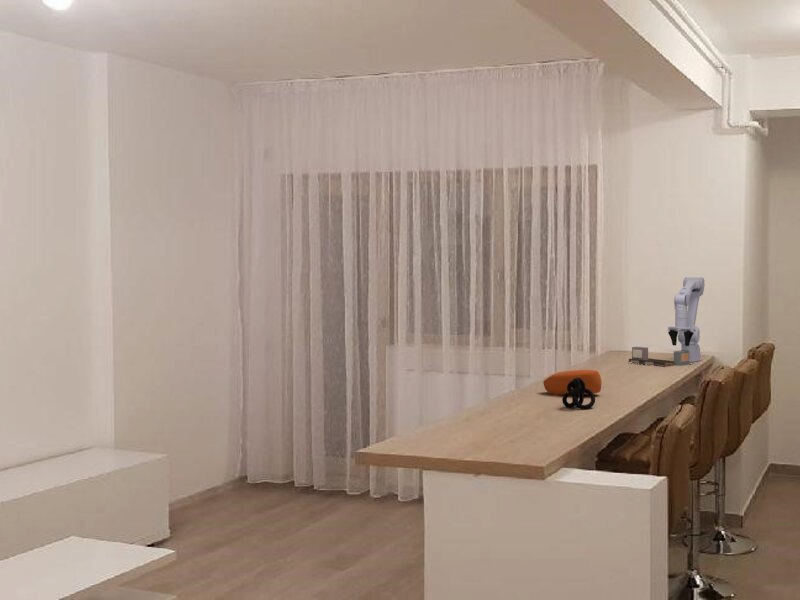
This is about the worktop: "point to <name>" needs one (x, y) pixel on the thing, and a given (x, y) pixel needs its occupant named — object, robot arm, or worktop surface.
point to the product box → (681, 357)
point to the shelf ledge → (654, 362)
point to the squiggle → (578, 394)
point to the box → (640, 353)
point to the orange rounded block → (560, 380)
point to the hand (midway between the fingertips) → (680, 345)
